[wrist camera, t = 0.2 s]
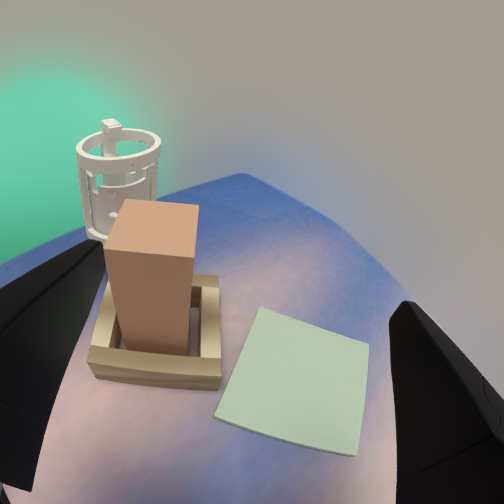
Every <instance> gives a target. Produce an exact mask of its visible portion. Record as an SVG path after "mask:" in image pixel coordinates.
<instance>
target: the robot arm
mask: <svg viewBox="0 0 504 504" xmlns="http://www.w3.org/2000/svg"><path fill="white" fill-rule="evenodd" d="M105 267H106V263H105V255H104V247H103V243H102V242H101V241H98V240H94V239H87V240H85V241H83V242H81V243H79V244H78V245H76V246H74V247H72V248H70V249H68V250H66V251H64V252H62V253H61V254H59V255H57V256H55V257H53V258H52V259H50V260H48V261H46V262H44V263H43V264H41V265H39V266H37V267H36V268H34V269H32V270H30V271H29V272H27V273H25V274H24V275H22V276H20V277H19V278H17V279H15V280H14V281H12V282H10V283H9V284H7V285H5V286H4V287H2V288H1V289H0V504H10V502H9V499H8V497H7V495H6V493H5V491H4V489H3V487H2V486H3V483H4V484H6V485H9V486H12V487H15V488H18V489H22V490H25V491H28V492H31V491H32V487H33V482H34V477H35V472H36V467H37V463H38V459H39V454H40V450H41V447H42V443H43V439H44V435H45V431H46V428H47V424H48V421H49V418H50V414H51V411H52V408H53V405H54V402H55V399H56V396H57V393H58V390H59V388H60V385H61V382H62V379H63V377H64V374H65V371H66V369H67V366H68V363H69V361H70V358H71V356H72V353H73V351H74V349H75V346H76V344H77V341H78V339H79V337H80V334H81V332H82V330H83V328H84V325H85V323H86V321H87V318H88V316H89V313H90V311H91V308H92V305H93V302H94V299H95V296H96V293H97V291H98V288H99V285H100V282H101V280H102V277H103V275H104V272H105ZM389 337H390V361H391V374H392V383H393V393H394V405H395V419H396V440H397V485H396V504H504V400H503V399H502V397H501V396H500V395H499V394H498V393H497V392H496V391H495V389H494V388H493V387H492V386H491V385H490V383H489V382H488V381H487V380H486V379H485V377H484V376H482V374H481V373H480V372H479V371H478V369H477V368H476V367H475V366H474V365H473V364H472V362H471V361H470V360H469V359H468V358H467V357H466V356H465V354H464V353H463V352H462V351H461V350H460V349H459V348H458V347H457V346H456V345H455V343H454V342H453V341H452V340H451V339H450V338H449V337H448V336H447V335H446V334H445V333H444V332H443V331H442V329H441V328H440V327H439V326H438V325H437V324H436V323H435V322H434V321H433V320H432V319H431V318H430V317H429V316H428V315H427V314H426V313H425V312H424V311H423V310H422V309H421V308H420V307H419V306H418V305H417V304H416V303H415V302H411V301H403V302H402V303H401V304H400V305H399V307H398V308H397V309H396V311H395V312H394V313H393V315H392V316H391V318H390V320H389Z"/></svg>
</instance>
